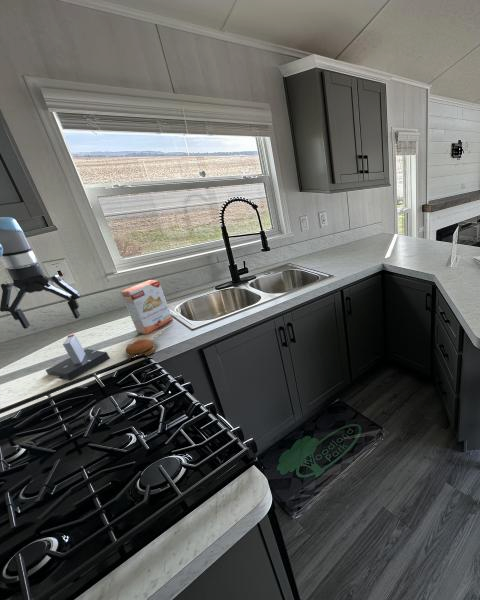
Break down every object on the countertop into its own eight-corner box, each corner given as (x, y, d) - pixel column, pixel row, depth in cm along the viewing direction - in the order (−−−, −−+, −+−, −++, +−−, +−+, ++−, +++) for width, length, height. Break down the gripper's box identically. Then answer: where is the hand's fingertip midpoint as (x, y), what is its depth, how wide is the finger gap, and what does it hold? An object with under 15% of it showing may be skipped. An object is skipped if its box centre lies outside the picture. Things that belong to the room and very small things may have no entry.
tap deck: (70, 380, 118) (66, 373, 117) (49, 376, 121) (44, 369, 120) (110, 358, 130) (107, 351, 129) (89, 355, 133) (86, 348, 132)
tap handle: (81, 362, 123) (69, 342, 119) (74, 364, 122) (62, 343, 118) (85, 353, 129) (74, 333, 125) (79, 355, 128) (68, 335, 124)
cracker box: (147, 334, 146) (129, 292, 137) (137, 333, 148) (118, 291, 139) (174, 319, 159) (159, 280, 150) (164, 318, 160) (148, 279, 151)
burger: (158, 352, 133) (154, 342, 131) (130, 362, 127) (125, 352, 125) (154, 343, 140) (150, 334, 138) (127, 352, 134) (122, 343, 132)
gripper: (75, 256, 116) (99, 309, 125) (-26, 269, 105) (9, 326, 114) (68, 261, 110) (95, 317, 119) (-39, 276, 99) (-1, 336, 108)
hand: (53, 321), depth 117 cm, fingers open, 13 cm apart
